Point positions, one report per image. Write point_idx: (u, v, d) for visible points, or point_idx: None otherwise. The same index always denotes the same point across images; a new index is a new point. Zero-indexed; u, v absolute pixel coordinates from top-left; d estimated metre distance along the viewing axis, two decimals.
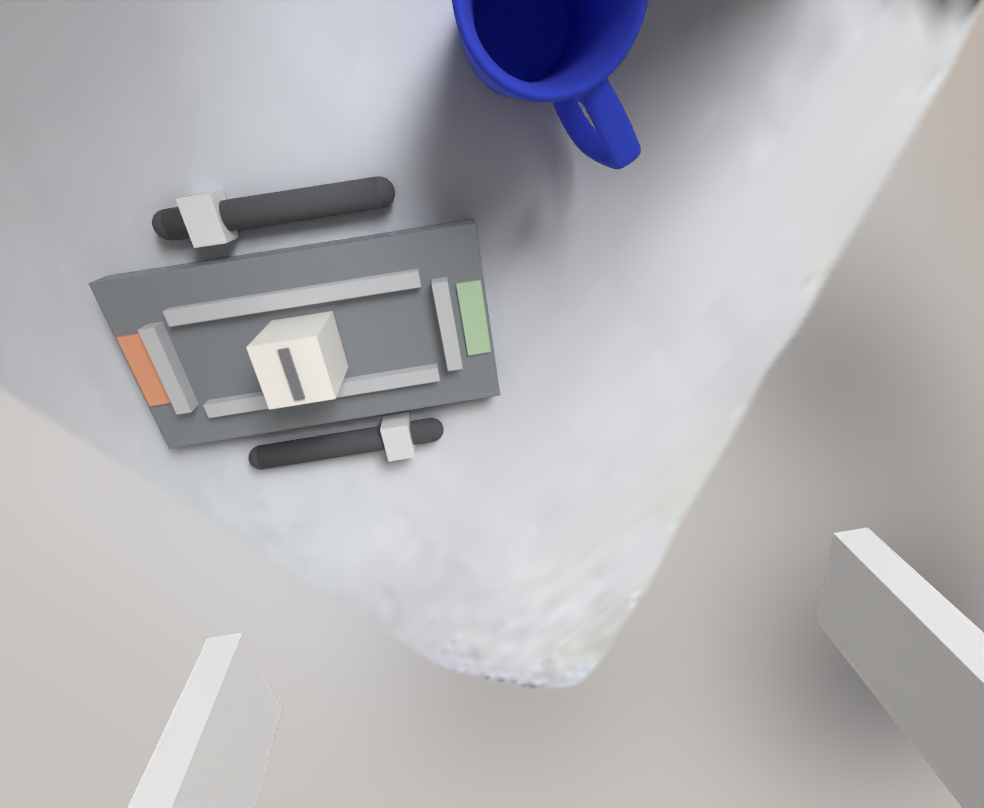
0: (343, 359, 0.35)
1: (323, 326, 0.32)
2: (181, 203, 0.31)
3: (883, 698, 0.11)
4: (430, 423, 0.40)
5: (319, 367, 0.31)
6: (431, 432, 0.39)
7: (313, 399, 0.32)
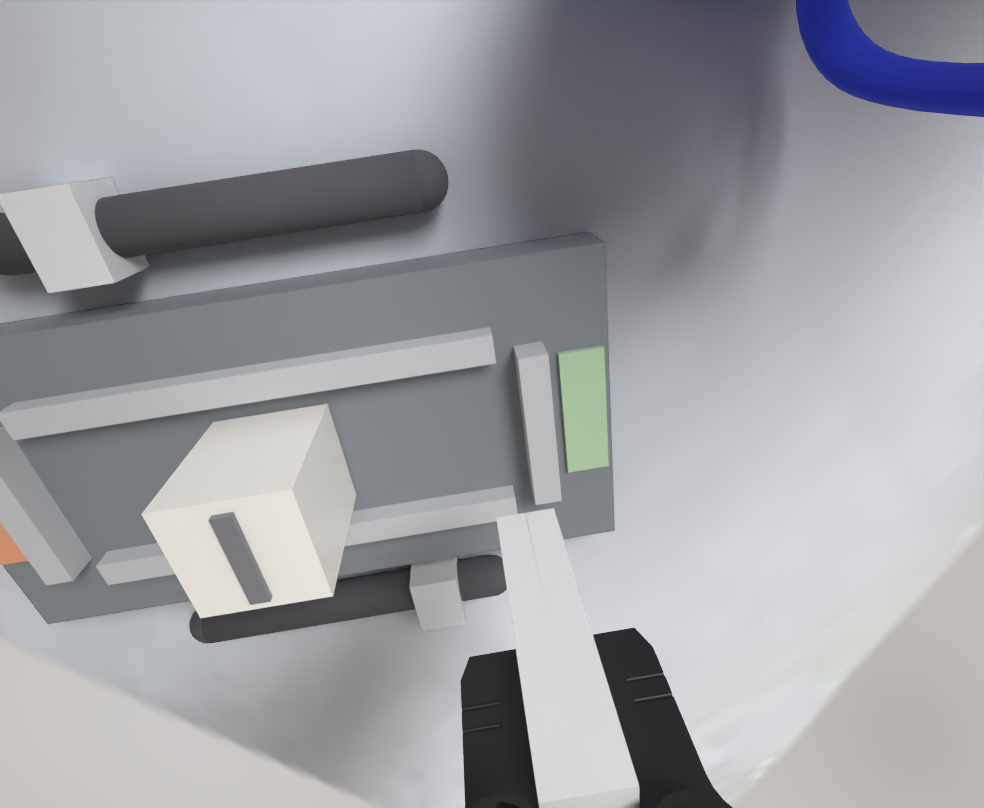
0: (347, 488, 0.19)
1: (308, 452, 0.16)
2: (9, 204, 0.15)
3: None
4: (492, 569, 0.24)
5: (299, 544, 0.15)
6: (493, 585, 0.24)
7: (289, 598, 0.16)
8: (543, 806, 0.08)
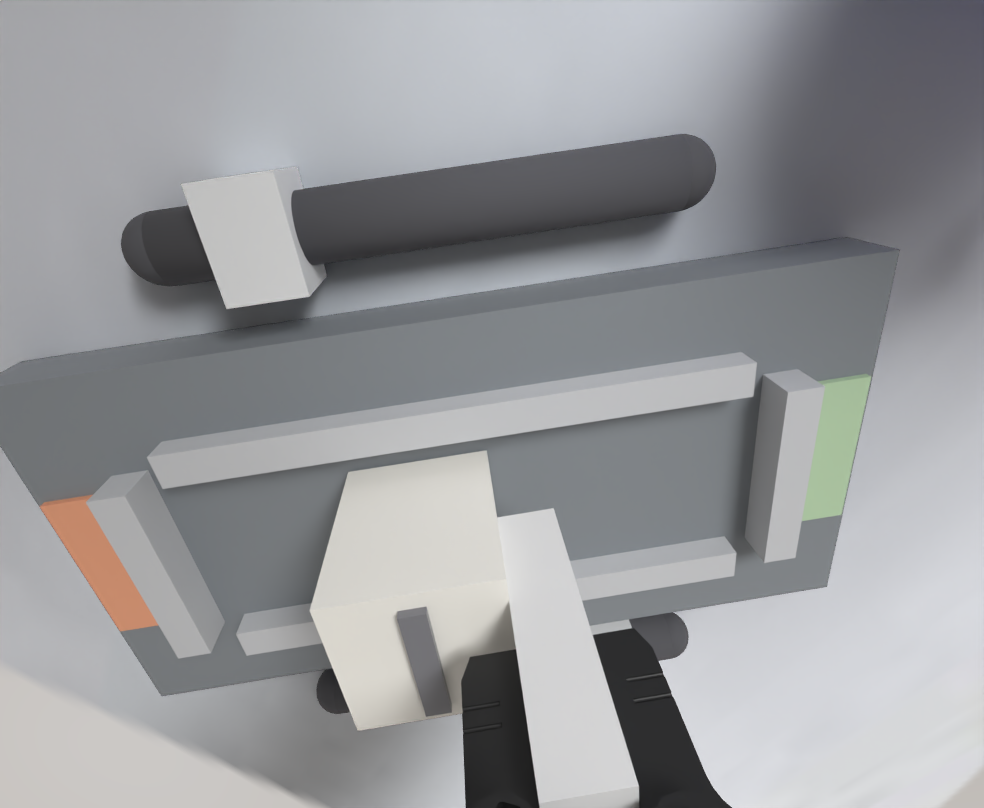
0: None
1: (496, 519, 0.12)
2: (196, 196, 0.12)
3: None
4: (670, 628, 0.20)
5: (499, 644, 0.12)
6: (672, 647, 0.20)
7: None
8: (543, 806, 0.08)
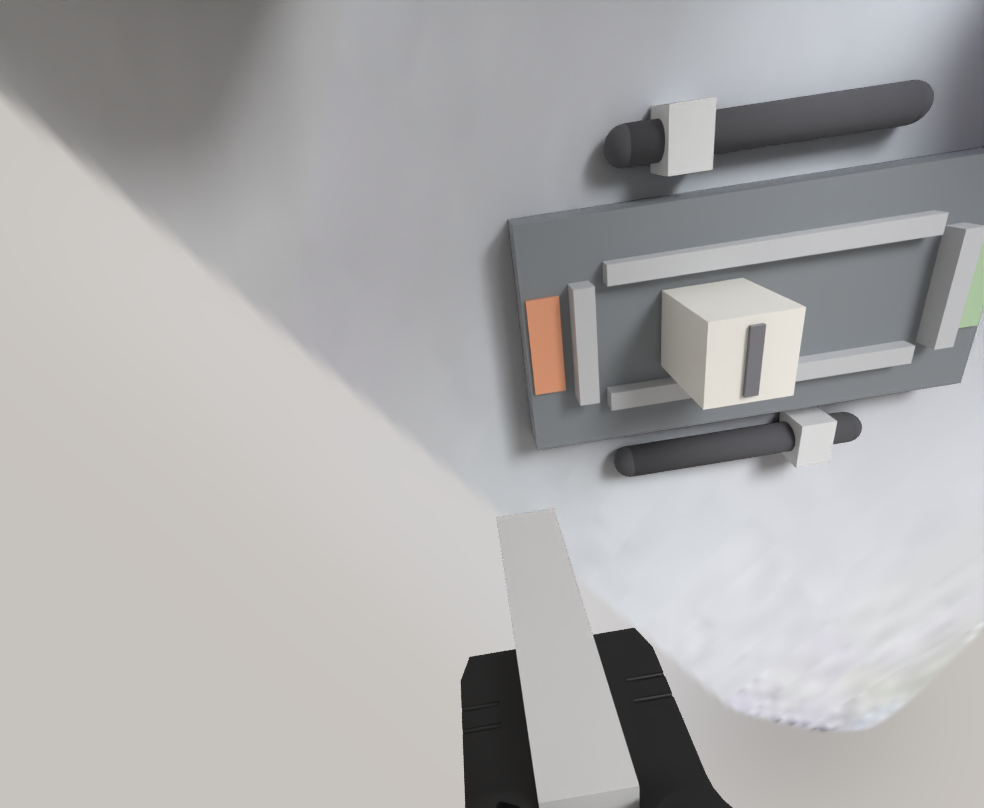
0: None
1: None
2: (675, 110, 0.22)
3: None
4: (851, 419, 0.31)
5: (791, 351, 0.22)
6: (853, 431, 0.31)
7: (765, 396, 0.23)
8: (543, 806, 0.08)
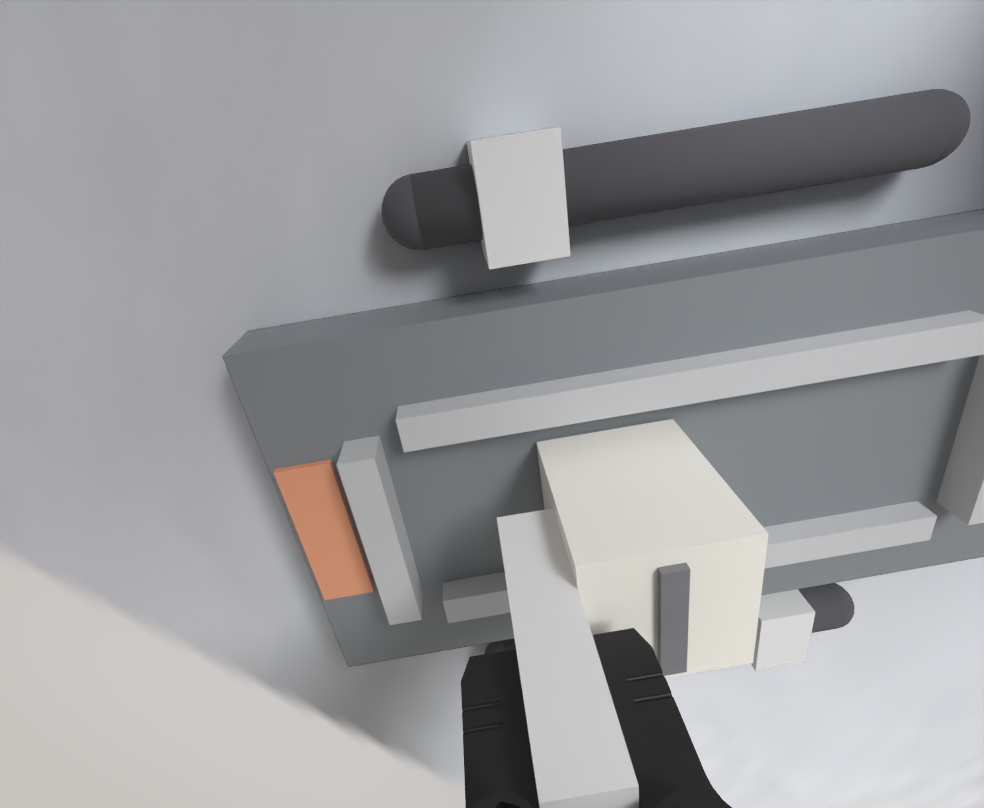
0: None
1: (722, 481, 0.13)
2: (483, 154, 0.12)
3: None
4: (838, 598, 0.20)
5: (744, 601, 0.12)
6: (841, 617, 0.20)
7: (700, 666, 0.12)
8: (543, 806, 0.08)
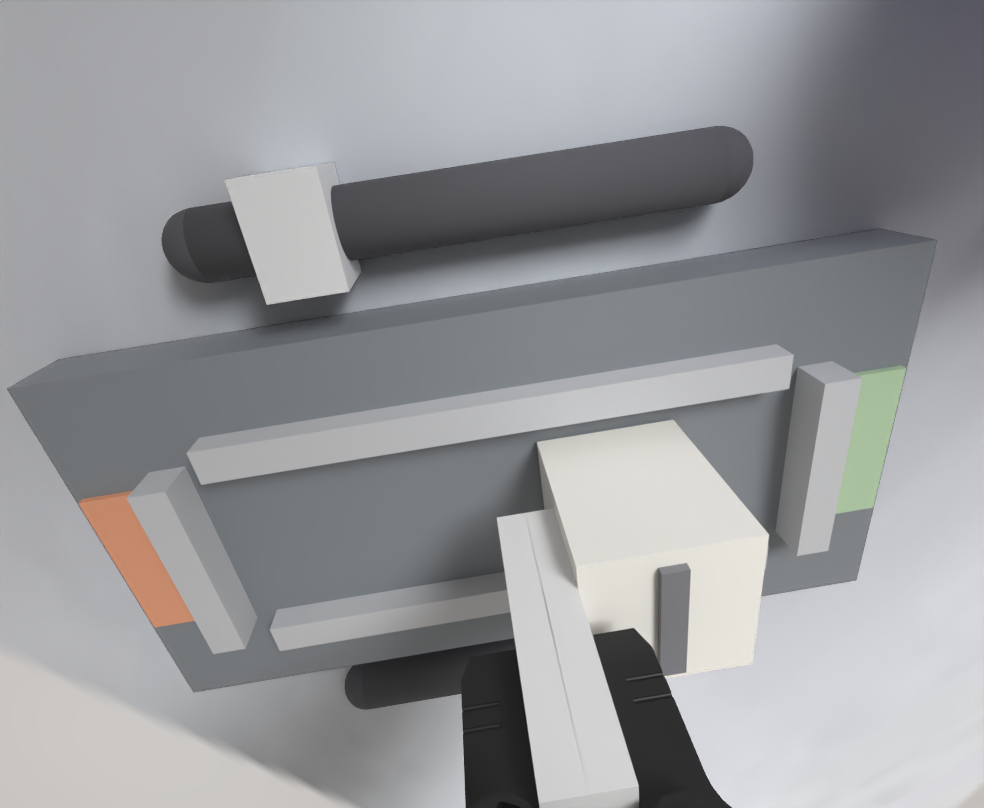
0: None
1: (722, 482, 0.13)
2: (240, 192, 0.12)
3: None
4: None
5: (744, 602, 0.12)
6: None
7: (699, 667, 0.12)
8: (543, 806, 0.08)
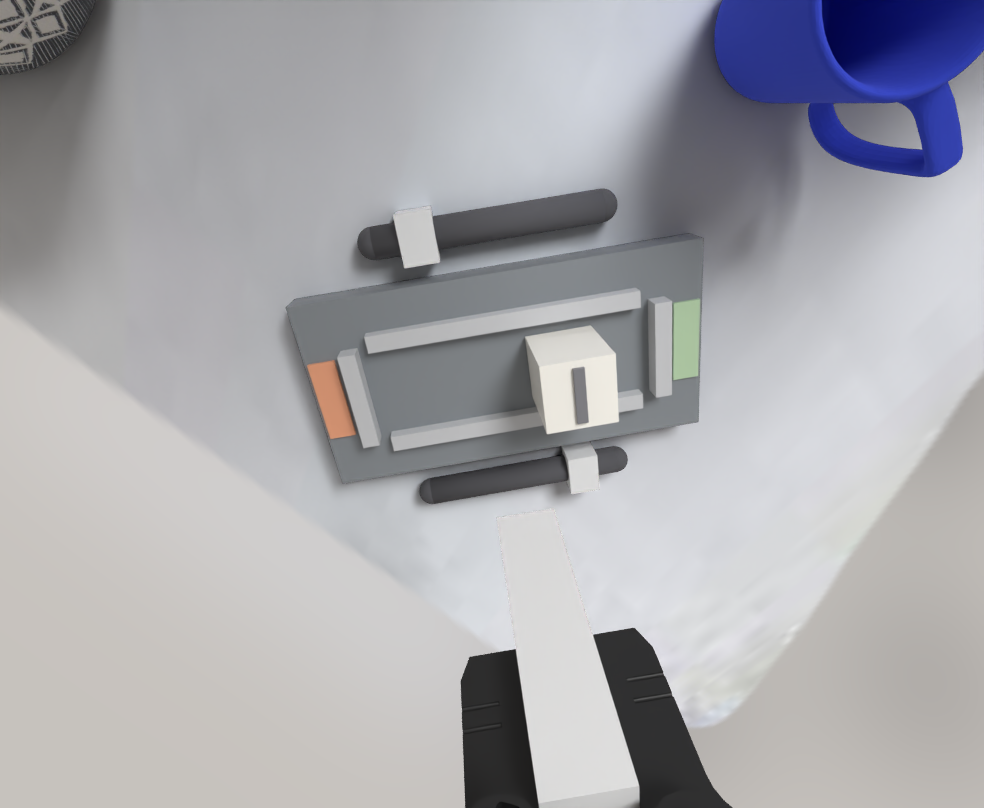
0: None
1: None
2: (398, 220, 0.28)
3: None
4: (616, 452, 0.37)
5: (610, 387, 0.28)
6: (617, 462, 0.37)
7: (595, 422, 0.29)
8: (543, 806, 0.08)
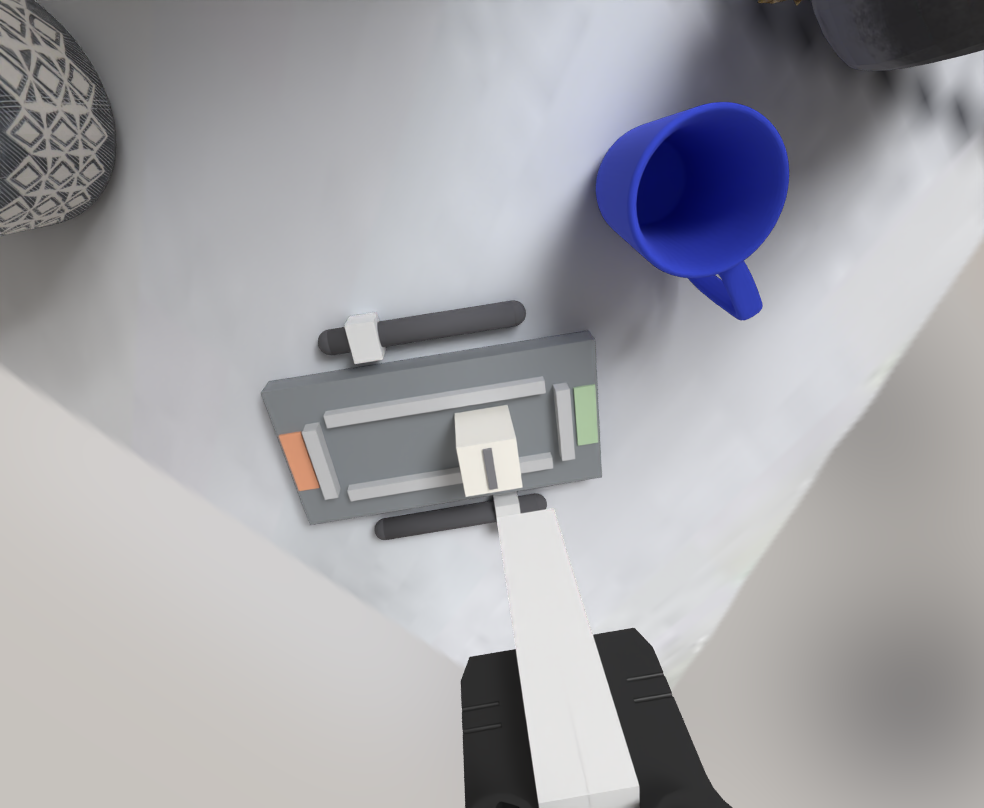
0: None
1: (512, 425, 0.37)
2: (348, 329, 0.36)
3: None
4: (537, 499, 0.44)
5: (514, 462, 0.36)
6: (537, 508, 0.44)
7: (504, 488, 0.37)
8: (543, 806, 0.08)
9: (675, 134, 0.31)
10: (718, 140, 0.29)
